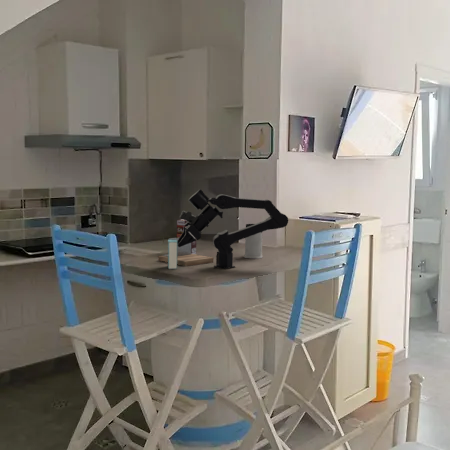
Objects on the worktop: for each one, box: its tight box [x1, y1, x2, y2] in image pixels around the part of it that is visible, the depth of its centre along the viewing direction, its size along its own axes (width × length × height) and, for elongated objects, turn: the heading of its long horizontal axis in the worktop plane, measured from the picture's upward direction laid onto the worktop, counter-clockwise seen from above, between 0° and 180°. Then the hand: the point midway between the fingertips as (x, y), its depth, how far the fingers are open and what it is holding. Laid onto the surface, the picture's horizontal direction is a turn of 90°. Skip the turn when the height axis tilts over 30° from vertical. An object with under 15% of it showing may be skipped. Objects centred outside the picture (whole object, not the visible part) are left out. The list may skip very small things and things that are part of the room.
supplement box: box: [176, 218, 197, 255], centre depth 281 cm, size 9×5×16 cm, turn 62°
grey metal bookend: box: [162, 237, 191, 257], centre depth 263 cm, size 5×12×8 cm, turn 134°
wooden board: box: [157, 253, 214, 267], centre depth 259 cm, size 18×16×2 cm
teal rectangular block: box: [167, 240, 178, 270], centre depth 243 cm, size 4×6×11 cm, turn 7°
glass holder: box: [243, 223, 264, 259], centre depth 277 cm, size 9×14×15 cm, turn 19°
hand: (177, 244), depth 243 cm, fingers open, 9 cm apart
